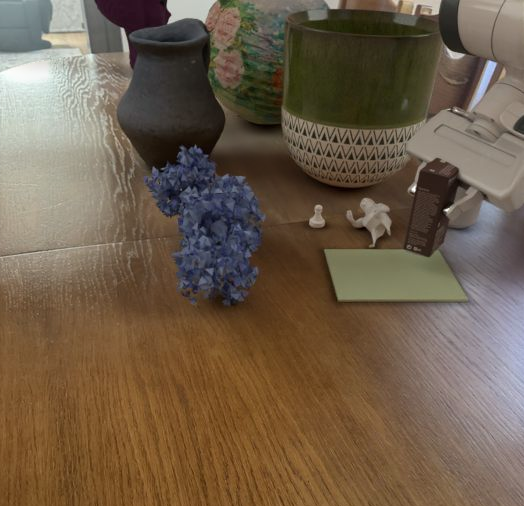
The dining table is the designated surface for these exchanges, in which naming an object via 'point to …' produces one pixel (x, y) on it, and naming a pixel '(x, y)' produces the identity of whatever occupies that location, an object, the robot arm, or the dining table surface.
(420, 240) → the box
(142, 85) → the pitcher
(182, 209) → the decorative sculpture
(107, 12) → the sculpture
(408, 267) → the mat
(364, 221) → the figurine
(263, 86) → the floral painted vase
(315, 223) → the chess pawn
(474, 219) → the can
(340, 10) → the planter
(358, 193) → the dining table surface
